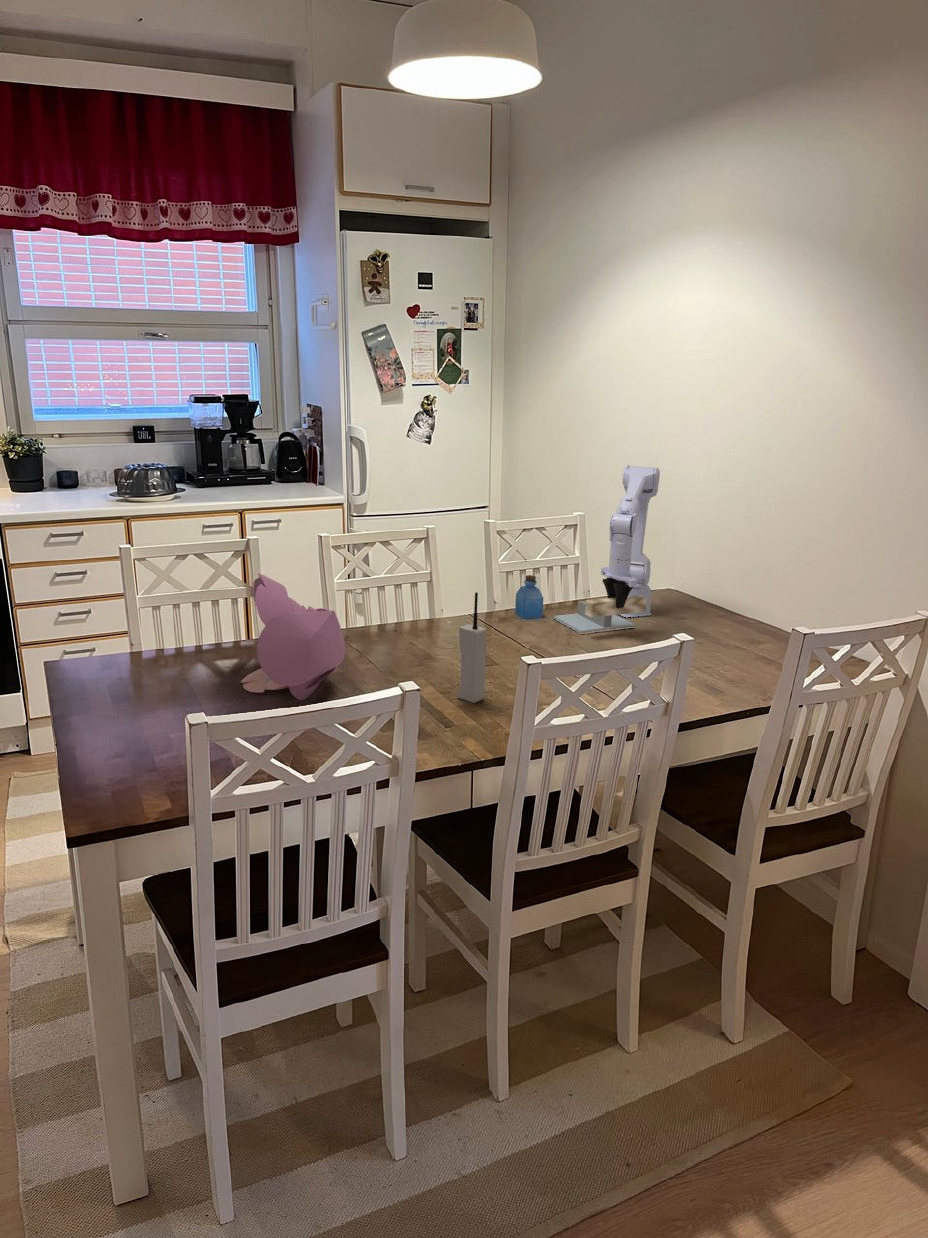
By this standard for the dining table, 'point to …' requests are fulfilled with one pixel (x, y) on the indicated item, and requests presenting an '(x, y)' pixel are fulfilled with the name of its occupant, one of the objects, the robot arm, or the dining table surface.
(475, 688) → the vintage mobile phone
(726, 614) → the dining table surface
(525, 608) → the perfume bottle
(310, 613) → the purple toy bird
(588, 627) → the stand
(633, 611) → the ash batten
